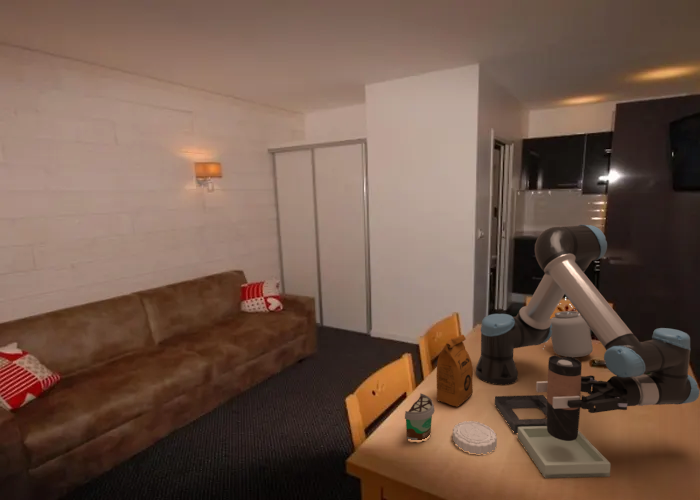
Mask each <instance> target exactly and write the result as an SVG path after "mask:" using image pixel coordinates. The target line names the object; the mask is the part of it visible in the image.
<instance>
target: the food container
mask: <svg viewBox="0 0 700 500" xmlns="http://www.w3.org/2000/svg"><path fill="white" fill-rule="evenodd" d="M435 411H436V409H435V405H434V402H433V400H432V398H431V397H429V396H428V395H426V394H423V393H420V395H419V398H418V399H417V400H415V401H414V402H413V404H412V406H411V407H410V409H409V410H408V411H407V410H405V412H404V419H405V424H406V425H405V428H406V440H407V439H411V440H422V439H425V438H427V437H428V436H429V435H430V433H431V434H432V431H431V430H432V422H433V421H432V419H433V415H434V413H435ZM430 436H431V435H430Z"/></svg>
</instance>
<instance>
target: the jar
mask: <svg viewBox="0 0 700 500" xmlns="http://www.w3.org/2000/svg"><path fill="white" fill-rule="evenodd" d="M564 300H565V301H567V296H565V298H564ZM559 304H560V305H561V304H562V303H560V302H559ZM559 304H558V305H557V306H559ZM569 306H570V307H571V308H572V309H573V307H574V306H573V305H572V303H569ZM550 319H551V324H552V328H551V330H552V335H551V337H550V339H551V345H552V349H553V352H554V353H555V354H556V355H557V356H559V357H567V356H569V357H573V358H579V357H580V358H581V357H585V356H588V355H590V354H591V353H593V350H594V349H593V348H594V347H593V341H592V335H591V329H590V327H589V326H588V325H587V323H586V322H585V320H584V319H583V318H582V316H581V315H580V314H579V312H578V311H577V310H567V311H566V310H565V311H564V310H563V311H559V312H555V313H554V316H553V317H552V318H551V317H550ZM544 347H546V346H545V345H544ZM542 349H543V350H544V348H542Z"/></svg>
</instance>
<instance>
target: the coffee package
mask: <svg viewBox="0 0 700 500" xmlns="http://www.w3.org/2000/svg"><path fill="white" fill-rule="evenodd" d="M465 340H466V336H465V335H464V334H461V335H459V336H456V337H453V338H450V339H449V340H448V341H447V343H445V346H444V347H442V350H441V351H440V353H439V355H438V358H437V362H436V363H437V364H436V377H435V378H436V400H437V401H438V400H439V401H438V402H440V401H441V403H446V404H447V405H450V406H452V407H459V406H461V405H462V404H464V402H465V401H467V399H468V398H470V397H471V396H472V394H473V393H474V390H473V389H474V388H473V386H474V385H473V372H474V367H473V362H472V359H471V356H470V355H469V353H468V351H467V349H466V347H465V344H464V341H465Z"/></svg>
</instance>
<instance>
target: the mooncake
mask: <svg viewBox="0 0 700 500" xmlns="http://www.w3.org/2000/svg"><path fill="white" fill-rule="evenodd" d="M453 440H454V442H455V444H457V445H458V447H460V448H462V449H463V450H464V451H469V452H470V453H476V454H481V453H483V454H487V452H489V453H490V452H492V450H495V451H496V448H497V447H496V446H497V444H498V443H497V442H498V438H497V433H496V432H495V431H494V429H492V428H491V427H490V426H489V425H486V424H485V423H481V422H480V421H473V420H469V421H468V420H464V421H462V422H458V423H457V424H455V425H454V427H453V428H452V441H453ZM454 442H453V443H454ZM458 447H457V448H458ZM495 447H496V448H495ZM492 453H493V452H492ZM487 455H488V454H487Z"/></svg>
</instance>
